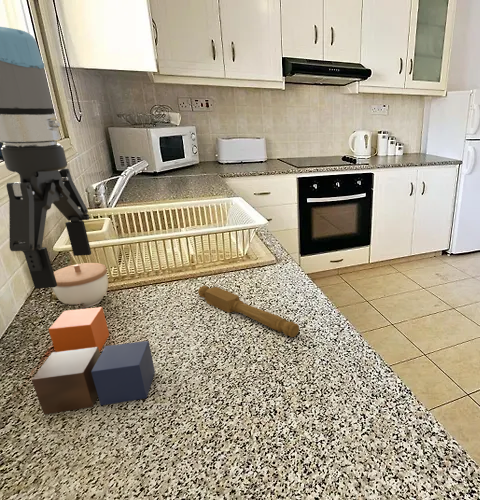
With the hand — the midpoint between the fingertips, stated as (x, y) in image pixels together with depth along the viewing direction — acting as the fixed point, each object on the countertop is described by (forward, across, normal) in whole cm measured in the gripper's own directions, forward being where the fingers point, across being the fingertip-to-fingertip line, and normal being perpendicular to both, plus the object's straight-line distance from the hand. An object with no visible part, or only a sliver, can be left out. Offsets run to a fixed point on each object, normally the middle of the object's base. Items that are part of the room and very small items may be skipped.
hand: (66, 269), depth 65 cm
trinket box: (+17, +19, +7) cm, 26 cm away
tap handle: (+16, +7, -29) cm, 34 cm away
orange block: (+16, 0, +1) cm, 16 cm away
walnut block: (+16, -14, -4) cm, 21 cm away
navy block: (+16, -13, -11) cm, 24 cm away
